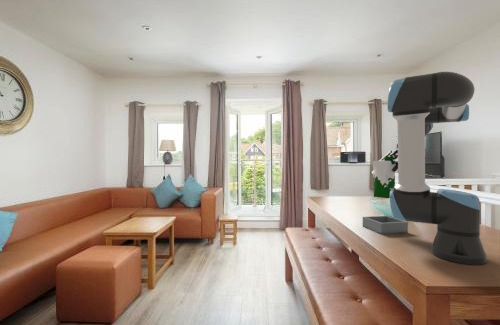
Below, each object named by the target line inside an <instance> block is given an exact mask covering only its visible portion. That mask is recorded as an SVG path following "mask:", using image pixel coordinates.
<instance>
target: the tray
mask: <svg viewBox="0 0 500 325" xmlns="http://www.w3.org/2000/svg"><path fill="white" fill-rule="evenodd" d="M408 225H409V221H405V220H399V219H396V218H395V217H394V216H393V217H391V216H389V215H378V216H377V215H375V216H374V215H372V216H370V215H369V216H362V228H366V229H367V230H370V231H372V232H375V233H377V234H379V233H380V234H379V235H391V234H407V233H409V229H408V228H409V226H408Z"/></svg>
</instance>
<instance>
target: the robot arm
mask: <svg viewBox="0 0 500 325" xmlns="http://www.w3.org/2000/svg"><path fill="white" fill-rule="evenodd" d="M474 85H475V84H474V83H473V81H472V80H471V79H470V78H469V77H467V76H465V75H463V74H461V73H458V72H453V71H438V72H433V73H427V74H419V75H413V76H407V77H402V78H399V79H394V80H393V81H392V82H391V83H390V85H389V89H388V95H387V105H386V106H387V112H388V113H392V118H393V119H395V120H396V121H397V122H396V124H397V129H396V130H397V143H396V148H395V149H394V150H391V149H390V150H389V151H388V152H387V153H386V154H385V155H384V156H382V157H381V158H380V159H379V160H378V161H381V160H383V161H384V157H394V160H393V161H396V162H395V164H393V165H392V167H391V168H390V169H389V170H388V171H387V172H386V173H385V174H386V175H387V177H388V178H390V177H391V176H392V175H393V173H394V172H395V173H396V171H397V173H398V174H397V175H398V176H397V179H398V182H397V183H395V186H394V190H391V191H390V198H389V204H390V205H389V206H390V211H391V213H392V216H393V218H396V219H399V220H402V221H406V222H413V223H422V224H431V225H436V226H437V227H436V228H437V229H436V230H437V231H436V234H435V237H434V239H433V242H432V244H431V247H430V250H431V254H432V255H433V256H435V257H437V258H440V259H442V260H444V261H445V260H446V261H450V262H453V263H458V264H464V265H474V266H476V265H477V266H478V265H484V264H487V253H486V252H485V248H484V245H483V244H482V240H481V238H480V236H481V235H480V234H481V230H480V228H481V227H480V225H481V224H480V220H481V219H480V218H481V217H480V216H481V214H480V212H481V210H482V208H481V205H480V197H478V195H476V194H473V193H470V192H466V191H462V190H461V191H460V190H455V189H449V188H447V189H445V188H438V189H437V190H436V192H431V187H430V186H429V185H428V184H427V183H426V136H427V135H428V134H430V132H431V130H432V129H433V128H434V124H442V123H455V122H456V123H460V122H467V121H468V120H469V116H470V105H469V104H468V103H469V102H470V101H471V100H472V99H473V97H474V94H475V86H474ZM371 174H372V175H373V176H374V169H373V170H372V171H371Z"/></svg>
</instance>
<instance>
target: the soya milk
mask: <svg viewBox="0 0 500 325" xmlns="http://www.w3.org/2000/svg"><path fill="white" fill-rule="evenodd" d="M383 157H384V156H383ZM396 161H397V160H394V156H393V157H384V161H383V160H381V161H379V160H372V164H373V166H372V168H373V170H374V175H373V198H382V199H390V191H391V190H394V186H395V185H396V171H395V172H394V173H393V175H392V176H391V177H390V178H388V177H387V175H386V174H385V173H386V172H387V171H388V170H389V169H390V168H391V167H392V165H393V164H395V162H396ZM395 165H396V164H395Z"/></svg>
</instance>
